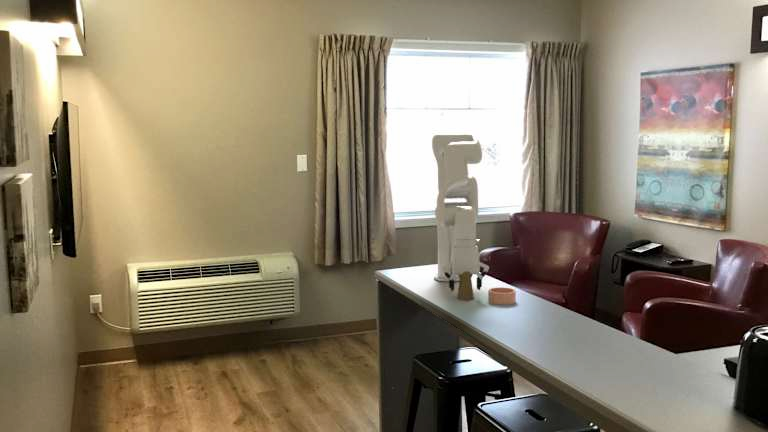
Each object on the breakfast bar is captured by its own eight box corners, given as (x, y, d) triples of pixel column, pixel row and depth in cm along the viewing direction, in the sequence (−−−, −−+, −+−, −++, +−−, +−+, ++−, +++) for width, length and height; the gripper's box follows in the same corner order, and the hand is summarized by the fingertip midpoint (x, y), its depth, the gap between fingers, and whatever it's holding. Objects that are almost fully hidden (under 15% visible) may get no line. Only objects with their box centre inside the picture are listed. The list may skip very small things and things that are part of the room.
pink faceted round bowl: (486, 298, 250) (486, 287, 249) (511, 297, 251) (511, 287, 250) (492, 305, 241) (492, 293, 240) (518, 304, 241) (518, 292, 241)
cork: (473, 296, 253) (473, 267, 252) (474, 300, 247) (474, 270, 246) (457, 296, 254) (456, 267, 253) (457, 300, 248) (457, 270, 247)
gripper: (486, 240, 253) (486, 286, 255) (439, 242, 251) (440, 288, 253) (491, 244, 245) (491, 291, 247) (443, 245, 244) (443, 292, 246)
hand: (465, 289), depth 250 cm, fingers open, 9 cm apart
